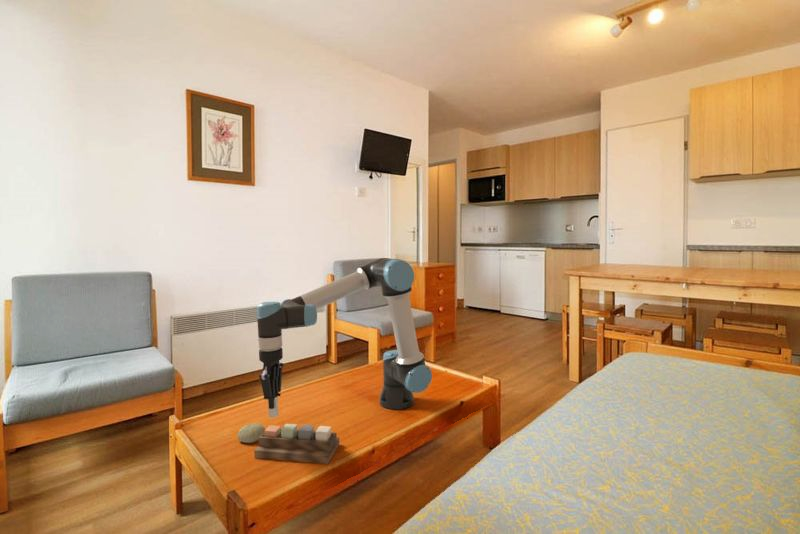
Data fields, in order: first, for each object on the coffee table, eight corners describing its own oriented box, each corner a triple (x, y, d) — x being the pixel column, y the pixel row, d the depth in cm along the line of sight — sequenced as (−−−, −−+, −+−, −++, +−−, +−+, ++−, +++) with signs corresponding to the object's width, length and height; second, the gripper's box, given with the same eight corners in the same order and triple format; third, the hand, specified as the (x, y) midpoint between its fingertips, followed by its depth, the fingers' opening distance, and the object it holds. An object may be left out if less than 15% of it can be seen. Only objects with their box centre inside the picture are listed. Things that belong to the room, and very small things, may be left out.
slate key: (314, 435, 134) (314, 425, 133) (309, 441, 130) (309, 431, 129) (303, 434, 134) (302, 424, 134) (298, 440, 130) (298, 430, 130)
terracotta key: (281, 435, 135) (280, 426, 135) (275, 441, 131) (275, 431, 131) (270, 435, 136) (269, 425, 136) (264, 440, 132) (264, 430, 132)
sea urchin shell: (240, 427, 145) (255, 412, 145) (255, 441, 146) (271, 426, 146) (231, 440, 136) (247, 423, 136) (248, 455, 137) (264, 438, 137)
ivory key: (331, 436, 133) (331, 426, 132) (327, 442, 129) (327, 432, 129) (319, 435, 133) (319, 425, 133) (315, 441, 129) (315, 431, 129)
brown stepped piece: (339, 444, 137) (339, 429, 136) (328, 463, 125) (327, 447, 125) (271, 439, 140) (271, 424, 140) (254, 457, 128) (254, 441, 128)
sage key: (297, 434, 134) (297, 424, 134) (292, 440, 130) (292, 429, 130) (286, 433, 135) (286, 423, 135) (281, 439, 131) (281, 429, 131)
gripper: (269, 342, 139) (272, 407, 140) (250, 353, 126) (253, 424, 127) (289, 343, 138) (292, 408, 139) (272, 354, 125) (275, 425, 126)
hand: (273, 416), depth 133 cm, fingers closed
